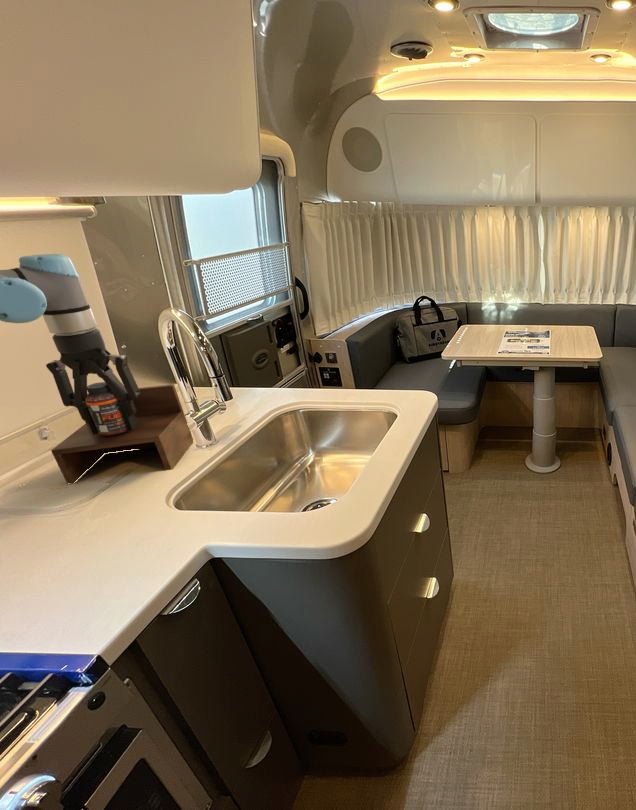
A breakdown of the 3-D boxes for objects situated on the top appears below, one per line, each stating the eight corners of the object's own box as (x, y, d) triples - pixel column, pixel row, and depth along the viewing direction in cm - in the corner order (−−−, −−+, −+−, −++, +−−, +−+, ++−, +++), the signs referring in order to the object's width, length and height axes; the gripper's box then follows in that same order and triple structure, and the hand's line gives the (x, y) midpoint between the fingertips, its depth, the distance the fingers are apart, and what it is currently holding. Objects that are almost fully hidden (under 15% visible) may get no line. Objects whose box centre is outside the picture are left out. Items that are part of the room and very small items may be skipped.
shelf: (171, 470, 112) (147, 408, 106) (68, 485, 107) (36, 421, 100) (194, 441, 125) (173, 384, 119) (102, 453, 120) (76, 394, 114)
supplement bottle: (109, 438, 107) (90, 391, 102) (92, 434, 109) (72, 387, 104) (138, 427, 112) (120, 381, 107) (122, 423, 114) (104, 378, 109)
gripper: (136, 323, 107) (170, 417, 116) (30, 330, 102) (75, 428, 111) (120, 331, 100) (157, 430, 110) (6, 340, 95) (55, 443, 105)
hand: (115, 429), depth 110 cm, fingers closed on supplement bottle, 6 cm apart
